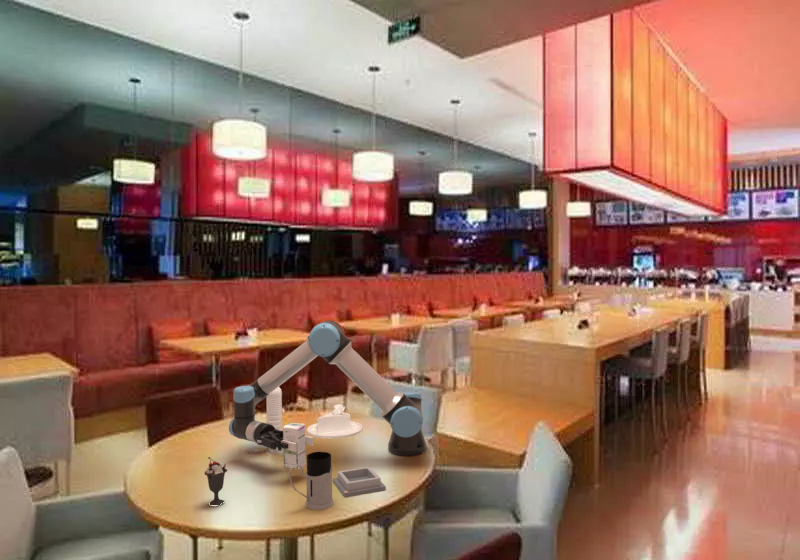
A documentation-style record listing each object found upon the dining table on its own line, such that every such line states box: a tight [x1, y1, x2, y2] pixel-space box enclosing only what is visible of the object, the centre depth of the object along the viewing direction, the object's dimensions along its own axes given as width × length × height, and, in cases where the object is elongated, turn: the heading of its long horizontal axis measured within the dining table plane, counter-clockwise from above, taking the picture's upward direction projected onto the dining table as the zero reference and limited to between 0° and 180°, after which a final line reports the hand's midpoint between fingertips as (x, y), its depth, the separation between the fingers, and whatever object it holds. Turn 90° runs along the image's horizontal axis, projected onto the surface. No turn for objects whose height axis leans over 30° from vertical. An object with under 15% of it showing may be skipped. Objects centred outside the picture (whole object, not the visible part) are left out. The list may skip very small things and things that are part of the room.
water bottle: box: [265, 386, 283, 431], centre depth 240 cm, size 9×6×25 cm
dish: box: [306, 403, 363, 440], centre depth 250 cm, size 25×25×11 cm
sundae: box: [204, 456, 228, 506], centre depth 174 cm, size 7×7×15 cm
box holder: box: [332, 466, 387, 498], centre depth 187 cm, size 14×14×4 cm
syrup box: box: [282, 422, 307, 470], centre depth 193 cm, size 6×6×14 cm
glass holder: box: [289, 451, 335, 511], centre depth 172 cm, size 9×14×15 cm, turn 125°
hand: (304, 444), depth 190 cm, fingers closed on syrup box, 7 cm apart
